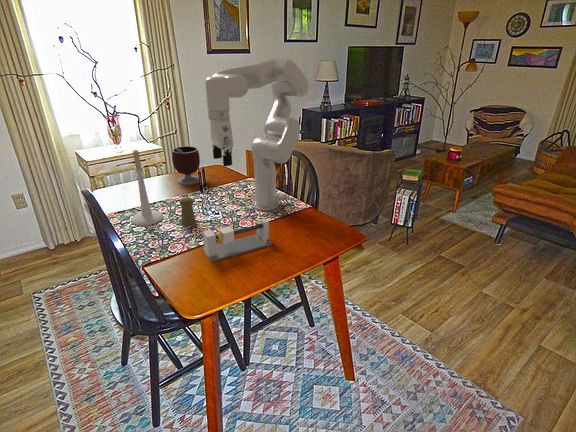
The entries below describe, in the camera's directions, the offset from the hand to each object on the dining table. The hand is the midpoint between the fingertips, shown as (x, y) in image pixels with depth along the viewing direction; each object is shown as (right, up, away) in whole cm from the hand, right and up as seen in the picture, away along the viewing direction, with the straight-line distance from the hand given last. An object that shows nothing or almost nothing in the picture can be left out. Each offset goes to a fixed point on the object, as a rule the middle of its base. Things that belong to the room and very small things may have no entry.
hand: (222, 161), depth 130 cm
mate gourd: (-30, -1, +59) cm, 67 cm away
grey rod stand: (+6, -32, -1) cm, 32 cm away
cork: (-17, -23, +16) cm, 33 cm away
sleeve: (+2, -29, -4) cm, 29 cm away
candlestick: (-35, -21, +19) cm, 45 cm away
